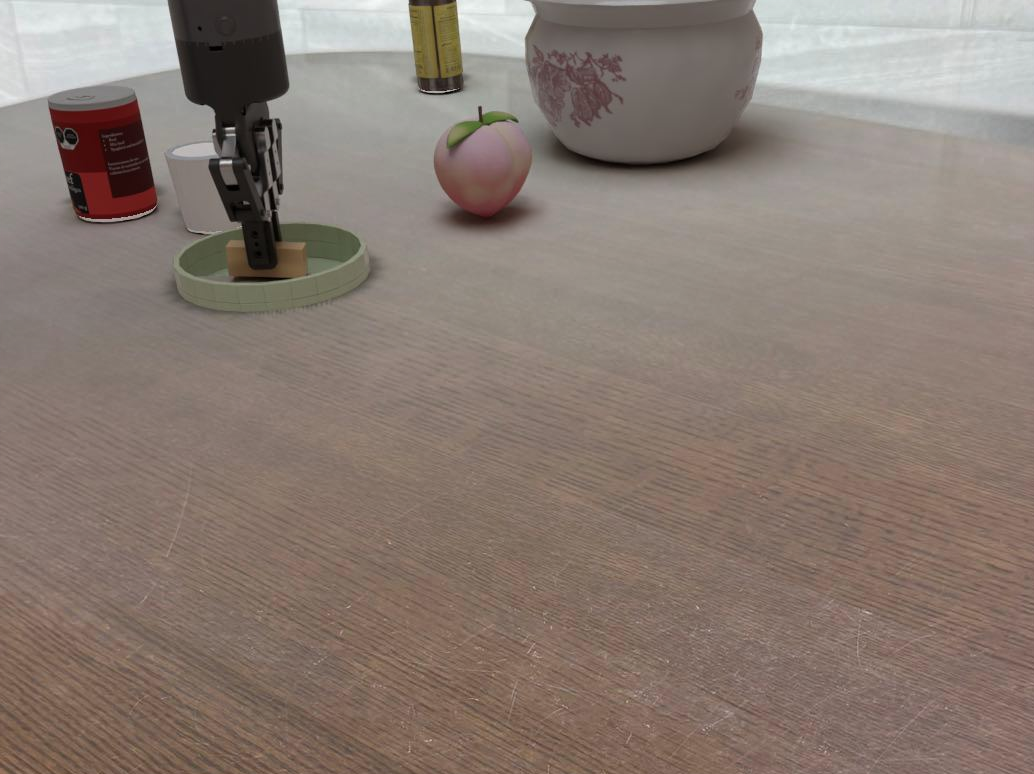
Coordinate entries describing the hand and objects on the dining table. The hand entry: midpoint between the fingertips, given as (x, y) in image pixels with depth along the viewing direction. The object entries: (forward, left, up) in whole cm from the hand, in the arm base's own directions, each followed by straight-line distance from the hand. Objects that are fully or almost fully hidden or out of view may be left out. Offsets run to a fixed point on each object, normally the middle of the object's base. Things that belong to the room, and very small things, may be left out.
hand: (267, 262), depth 95 cm
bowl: (0, 0, -3) cm, 3 cm away
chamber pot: (+32, +42, -3) cm, 53 cm away
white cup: (-9, +19, -3) cm, 21 cm away
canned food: (-20, +24, -3) cm, 31 cm away
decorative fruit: (+16, +19, -3) cm, 25 cm away
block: (0, 0, -1) cm, 1 cm away
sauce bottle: (+7, +75, -3) cm, 75 cm away
